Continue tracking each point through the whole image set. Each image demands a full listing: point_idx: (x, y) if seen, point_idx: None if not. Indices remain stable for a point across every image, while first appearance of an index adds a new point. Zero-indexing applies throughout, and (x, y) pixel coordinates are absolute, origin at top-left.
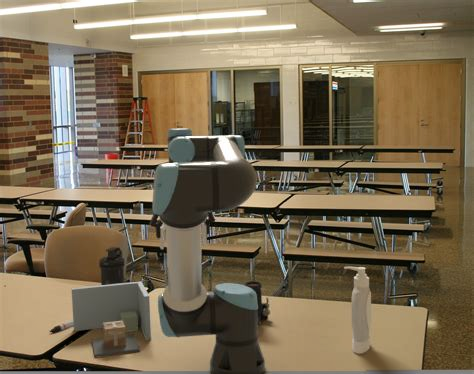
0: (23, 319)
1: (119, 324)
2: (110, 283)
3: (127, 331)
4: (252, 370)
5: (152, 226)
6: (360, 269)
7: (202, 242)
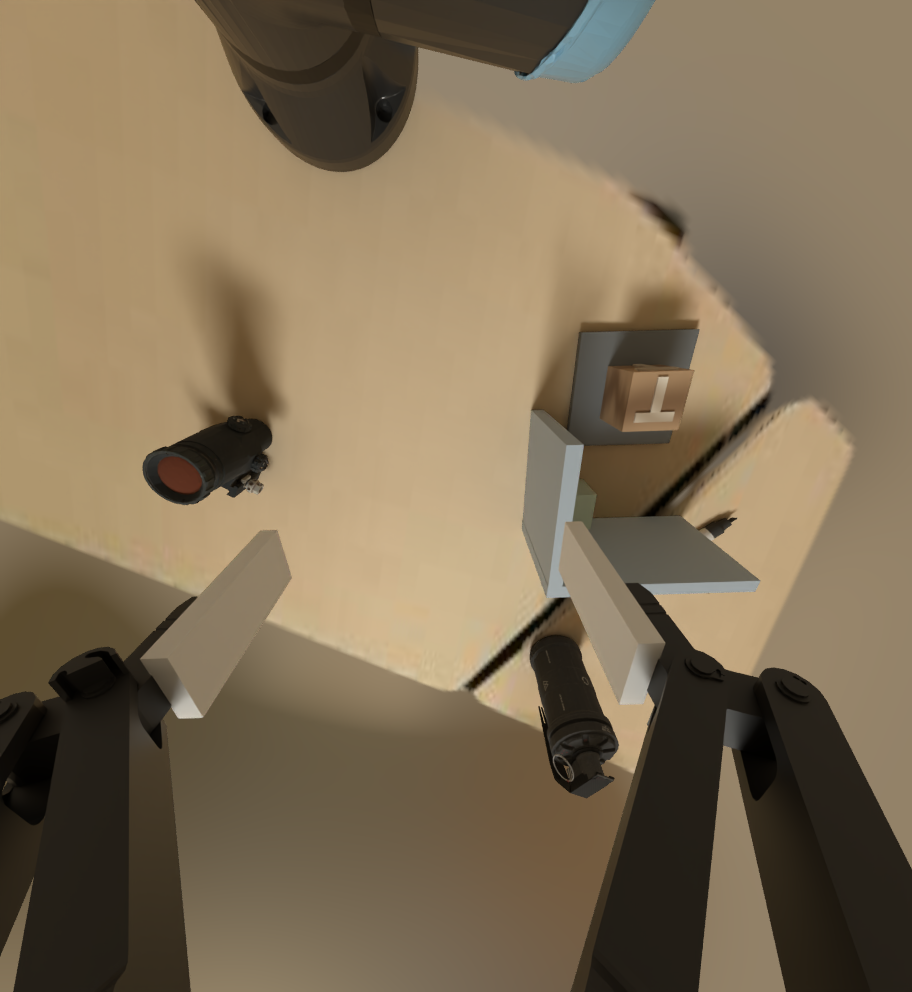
0: (747, 604)
1: (642, 399)
2: (578, 677)
3: None
4: None
5: (775, 669)
6: None
7: (287, 583)
